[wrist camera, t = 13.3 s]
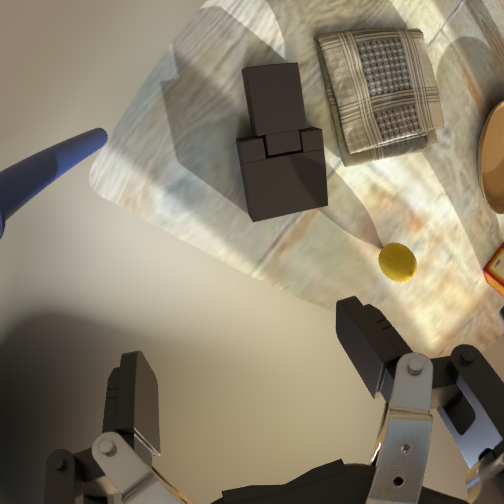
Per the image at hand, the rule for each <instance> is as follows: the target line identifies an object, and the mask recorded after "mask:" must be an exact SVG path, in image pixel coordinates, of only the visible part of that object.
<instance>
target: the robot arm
mask: <svg viewBox="0 0 504 504" xmlns="http://www.w3.org/2000/svg"><path fill="white" fill-rule="evenodd" d="M336 333H337V337H338V339H339V341H340V343H341V345H342V346H343V348H344V350H345V351H346V353H347V355H348V356H349V358H350V360H351V361H352V363H353V365H354V366H355V368H356V370H357V371H358V373H359V375H360V376H361V378H362V380H363V382H364V383H365V385H366V387H367V388H368V390H369V392H370V393H371V395H372V397H373V398H374V399H376V398H378V397H381V396H383V398H384V399H385V401H386V402H385V405H384V410H383V415H382V419H381V423H380V427H379V431H378V435H377V439H376V443H375V446H374V449H373V452H372V455H371V458H370V461H369V464H368V465H366V464H357V463H354V464H344V463H343V461H342V459H339V460H336V461H334V462H331V463H328V464H325V465H322V466H319V467H316V468H313V469H311V470H310V471H308V472H306V473H305V474H303V475H301V476H299V477H298V478H296V479H294V480H292V481H290V482H289V483H286V484H283V485H251V486H246V487H241V488H236V489H231V490H226V491H222V495H223V497H222V498H220V499H218V500H216V501H214V502H213V503H211V504H504V383H503V381H502V380H501V379H500V377H499V376H498V375H497V374H496V372H495V371H494V369H493V368H492V367H491V366H490V364H489V363H488V362H487V361H486V359H485V358H484V357H483V355H482V354H481V353H480V352H479V350H478V349H476V348H475V347H473V346H471V345H467V344H462V345H459V346H457V347H455V348H454V349H453V351H452V353H451V355H450V356H446V357H440V358H434V359H429V358H428V357H427V356H425V355H423V354H421V353H416V352H413V351H412V350H411V349H410V347H409V346H408V345H407V344H406V342H405V341H404V340H403V338H402V337H401V336H400V335H399V333H398V332H397V331H396V330H395V328H394V327H392V325H391V323H390V322H389V321H388V320H387V319H386V317H385V316H384V315H383V314H382V312H381V311H380V310H379V309H377V308H375V307H374V306H372V305H370V304H367V305H364V306H363V305H362V303H361V302H360V301H359V300H358V298H357V297H356V296H352V297H349V298H345V299H342V300H339V301H337V303H336ZM433 408H436V409H437V411H438V413H439V414H440V416H441V418H442V419H443V421H444V423H445V425H446V426H447V428H448V430H449V431H450V433H451V435H452V437H453V439H454V440H455V442H456V444H457V446H458V448H459V449H460V451H461V453H462V455H463V457H464V459H465V461H466V462H467V464H468V466H469V468H470V470H469V472H468V473H467V476H466V486H467V489H468V497H467V500H466V501H465V500H462V499H459V498H456V497H452V496H449V495H446V494H443V493H440V492H437V491H434V490H432V489H429V488H426V487H424V486H422V483H423V478H424V473H425V468H426V463H427V457H428V452H429V446H430V439H431V431H432V424H433V416H432V415H430V409H433ZM158 455H161V453H160V437H159V409H158V384H157V379H156V377H155V374H154V372H153V371H152V369H151V367H150V366H149V364H148V362H147V360H146V359H145V357H144V355H143V353H142V352H141V351H134V352H129V353H124V354H122V356H121V363H120V367H118V368H114V369H113V371H112V373H111V375H110V376H109V378H108V385H107V392H106V400H105V409H104V419H103V431H102V434H101V435H99V436H98V437H97V438H96V439H95V440H94V442H93V444H92V447H91V448H89V449H86V450H84V451H81V452H78V453H75V454H71V453H70V452H69V451H67V450H65V449H58V450H56V451H54V452H52V453H51V454H50V456H49V457H48V459H47V462H46V475H45V499H44V504H114V498H113V494H115V493H118V492H120V494H121V495H122V497H123V498H122V501H123V503H124V504H194V503H193V502H191V501H190V500H189V499H188V498H186V497H185V496H184V495H183V494H182V493H181V492H179V491H178V490H177V489H176V488H175V487H174V486H173V485H172V484H171V483H170V482H169V481H168V480H167V479H165V477H164V476H163V475H162V474H161V473H160V472H159V471H158V470H157V469H156V468H155V467H154V466H153V465H152V456H158Z"/></svg>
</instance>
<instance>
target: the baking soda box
mask: <svg viewBox="0 0 504 504" xmlns="http://www.w3.org/2000/svg"><path fill="white" fill-rule="evenodd" d="M483 272H484V275H485V278H486V281H487V283H488V284H489V285H490V286H492V287H493V288H494V289H495V290H496V291H498V292H499V293H500V294H501V295H502V296H503V297H504V243H503V244H502V245H501V247H500V248H499V249H498V251H497V252H496V253H495V255H494V256H493V257H492V259H491V260H490V261H489V263H488V264H487V265H486V266H485V268H484V269H483Z"/></svg>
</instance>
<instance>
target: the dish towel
mask: <svg viewBox="0 0 504 504" xmlns="http://www.w3.org/2000/svg"><path fill="white" fill-rule="evenodd" d="M314 41H315V43H316V46H317V51H318V57H319V61H320V65H321V69H322V73H323V79H324V82H325V87H326V92H327V95H328V100H329V104H330V108H331V112H332V116H333V121H334V125H335V129H336V136H337V141H338V145H339V148H340V152H341V157H342V160H343V164H344V166H345V167H348V166H356V165H360V164H364V163H367V162H371V161H376V160H380V159H384V158H388V157H394V156H400V155H404V154H411V153H416V152H421V151H424V150H426V145H428V144H431V143H436V142H437V138H436V134H435V129H436V128H444V121H443V115H442V110H441V105H440V99H439V95H438V90H437V86H436V81H435V76H434V72H433V69H432V65H431V62H430V58H429V55H428V51H427V48H426V44H425V41H424V35H423V32H421V31H420V29H396V28H378V29H361V30H350V31H343V32H335V33H329V34H323V35H319V36H316V37H315V38H314Z"/></svg>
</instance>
